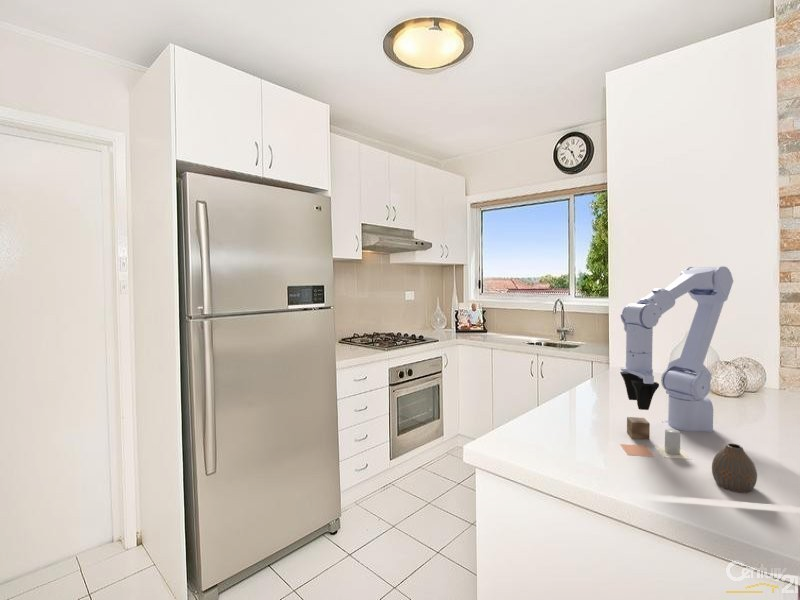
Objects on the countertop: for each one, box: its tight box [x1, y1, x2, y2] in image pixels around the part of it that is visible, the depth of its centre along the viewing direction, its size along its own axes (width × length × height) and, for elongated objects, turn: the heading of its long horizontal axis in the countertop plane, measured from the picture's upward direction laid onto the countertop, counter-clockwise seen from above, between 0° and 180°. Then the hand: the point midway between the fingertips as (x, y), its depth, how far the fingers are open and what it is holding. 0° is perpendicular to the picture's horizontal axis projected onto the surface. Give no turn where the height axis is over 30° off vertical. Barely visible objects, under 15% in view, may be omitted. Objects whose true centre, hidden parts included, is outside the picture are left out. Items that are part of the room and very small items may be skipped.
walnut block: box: [626, 416, 651, 440], centre depth 106 cm, size 4×4×5 cm
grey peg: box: [664, 428, 682, 455], centre depth 96 cm, size 3×3×5 cm
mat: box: [619, 443, 692, 460], centre depth 98 cm, size 13×8×1 cm, turn 77°
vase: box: [711, 443, 758, 494], centre depth 82 cm, size 7×7×9 cm
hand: (638, 404), depth 106 cm, fingers open, 7 cm apart
